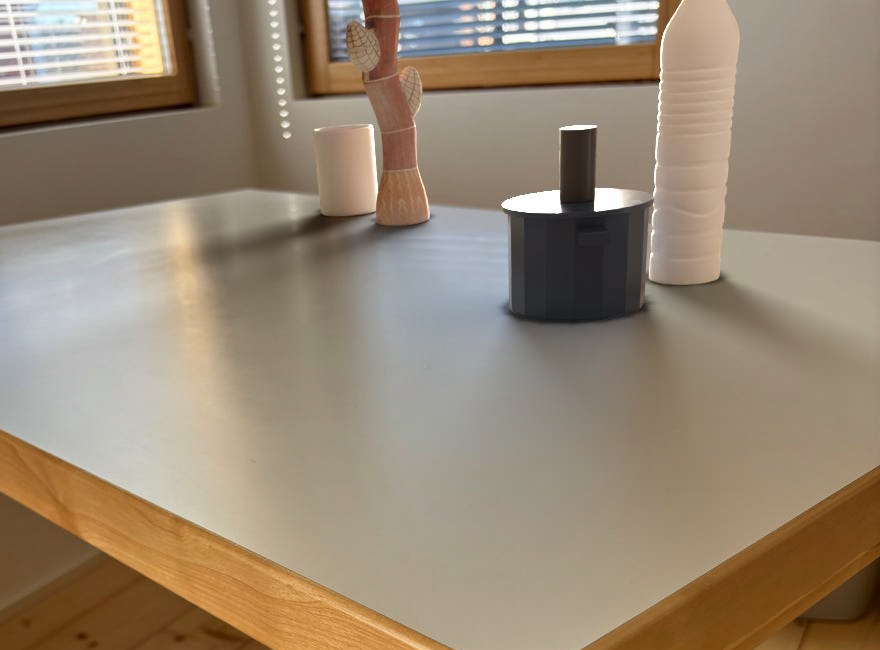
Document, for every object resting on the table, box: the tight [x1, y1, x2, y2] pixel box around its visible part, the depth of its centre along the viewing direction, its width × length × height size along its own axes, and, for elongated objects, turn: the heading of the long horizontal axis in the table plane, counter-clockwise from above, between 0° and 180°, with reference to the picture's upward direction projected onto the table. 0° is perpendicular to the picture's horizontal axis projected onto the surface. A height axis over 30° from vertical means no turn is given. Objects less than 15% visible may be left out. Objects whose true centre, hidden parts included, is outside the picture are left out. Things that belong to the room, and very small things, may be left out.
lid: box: [501, 125, 654, 219], centre depth 86 cm, size 13×13×7 cm
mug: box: [312, 123, 379, 217], centre depth 148 cm, size 12×8×11 cm
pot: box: [507, 207, 650, 323], centre depth 89 cm, size 12×17×8 cm
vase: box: [345, 0, 431, 227], centre depth 131 cm, size 10×7×30 cm
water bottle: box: [648, 0, 741, 286], centre depth 92 cm, size 9×6×25 cm
